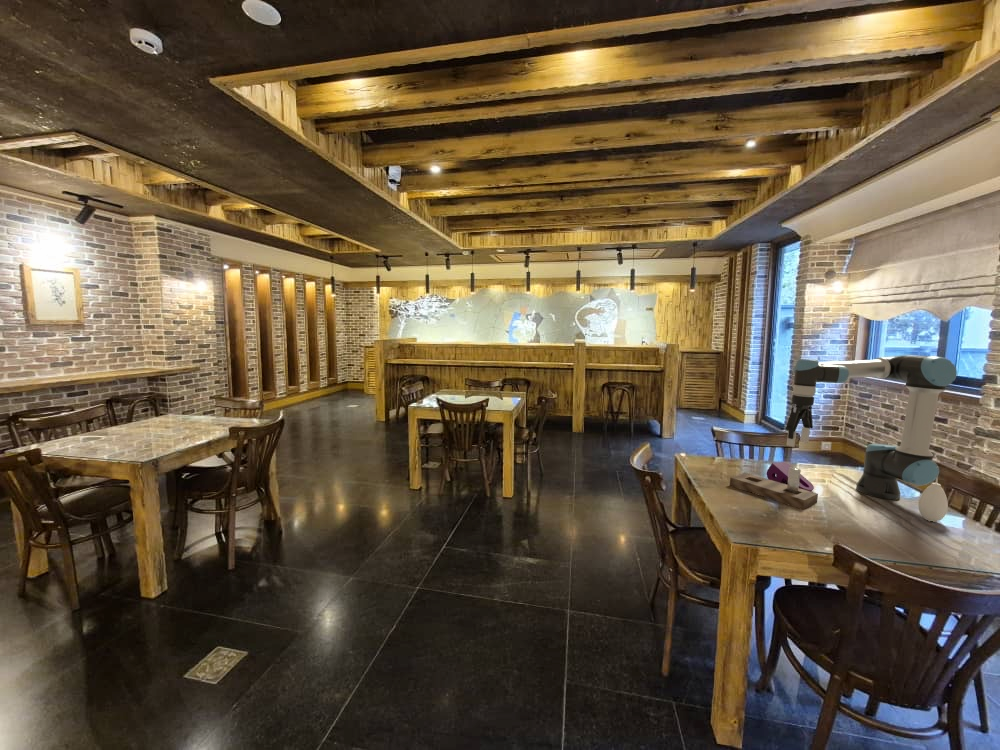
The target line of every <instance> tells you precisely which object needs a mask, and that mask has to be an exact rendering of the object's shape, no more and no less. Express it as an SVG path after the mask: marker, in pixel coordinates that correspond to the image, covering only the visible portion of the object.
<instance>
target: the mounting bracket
mask: <svg viewBox="0 0 1000 750" xmlns="http://www.w3.org/2000/svg"><path fill="white" fill-rule="evenodd" d="M790 467H792V468H794V467H793V466H792V465H791V464H790V463H788V462H787V461H780V462H778V461H777V462H771V465H769V467H768V469H767V470H766V479H769V480H772V481H776V482H779V483H783V484H784V483H786V482H787V483H788V476H789V468H790ZM784 481H785V482H784ZM799 488H800V489H803V490H807V491H810V492H813V491H814V489H815V486H814V484H812V483H811V481H810V480H809V479H807V478H806V476H804V475H802V474H801V473H800V480H799Z"/></svg>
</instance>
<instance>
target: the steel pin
mask: <svg viewBox="0 0 1000 750" xmlns="http://www.w3.org/2000/svg"><path fill="white" fill-rule="evenodd" d="M792 467H793V466H792ZM792 467H790V468H789V476H788V482H787V484H786V485H787V492H790V493H793V494H796V495H797V494H798V489H799V480H800V474H801V471H802V470H801V469H800V468H798V467H793V468H792Z"/></svg>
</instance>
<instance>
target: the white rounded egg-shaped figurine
mask: <svg viewBox="0 0 1000 750" xmlns="http://www.w3.org/2000/svg"><path fill="white" fill-rule="evenodd" d="M938 480H939V479H938V476H937V478H936V479H935V482H931V483H930V484H929V486H927V487H926V488H925V489H924V490H923V491H922V493H921V495H920V497H919V499H918V511H919V513H920V515H921V517H923V519H925V520H926V521H927V520H928V522H930V521H933V522H932V523H934V522H935V523H937V522H938V521H939V522H940V521H942V520H943V519H944V518H945V517H946V515H947V513H948V508H949V507H948V506H949V502H948V498H947V495H946V492H945V490H944V489H943V487H942V485H941V484H940V483H938Z"/></svg>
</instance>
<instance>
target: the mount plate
mask: <svg viewBox="0 0 1000 750" xmlns="http://www.w3.org/2000/svg"><path fill="white" fill-rule="evenodd" d="M787 485H788V484H786V483H784V482H783V483H779V482H776V481H772V480H769V479H768V478H764V477H761V476H759V475H754V474H752V473H751V474H750V473H748V472H743V473H739V474H737V475H733V476H730V478H729V486H730V487H732V486H733V488H736V489H739V490H742V491H745V492H748V491H749V493H751V492H752V494H754V493H756V494H755V495H757V494H759V495H758V496H760V495H761V497H763V496H764V497H763V498H766V497H767V498H766V499H769V498H770V500H773V501H776V502H778V503H779V502H780V503H782V504H786V505H788V504H789V505H788V506H791V505H792V506H791V507H794V506H795V507H794V508H797V507H798V509H800V508H801V510H805V509H807V508H809V507H812V506H814V505H815V504H817V503H818V497H819V493H816V492H813V491H812V492H810V491H807V490H803V489H800V488H799V489H798V494H797V495H796V494H793V493H790V492H787Z"/></svg>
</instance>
